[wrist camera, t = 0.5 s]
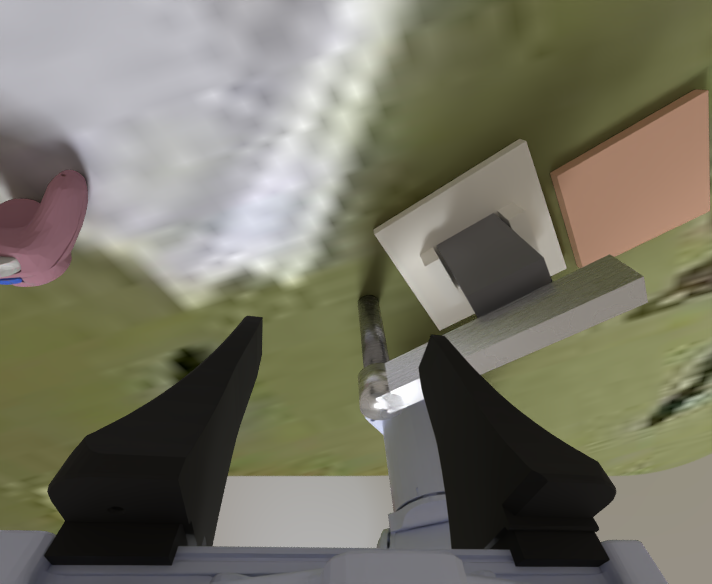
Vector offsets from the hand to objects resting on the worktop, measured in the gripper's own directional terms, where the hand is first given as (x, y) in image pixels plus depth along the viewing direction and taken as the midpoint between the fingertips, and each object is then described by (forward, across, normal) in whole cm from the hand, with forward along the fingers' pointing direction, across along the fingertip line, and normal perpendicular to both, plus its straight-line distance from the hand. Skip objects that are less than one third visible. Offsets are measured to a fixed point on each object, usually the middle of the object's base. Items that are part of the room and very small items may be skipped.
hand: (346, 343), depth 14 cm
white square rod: (+3, -7, +1) cm, 8 cm away
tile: (+10, -18, -6) cm, 21 cm away
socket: (+10, -7, 0) cm, 12 cm away
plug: (+9, -9, -1) cm, 13 cm away
